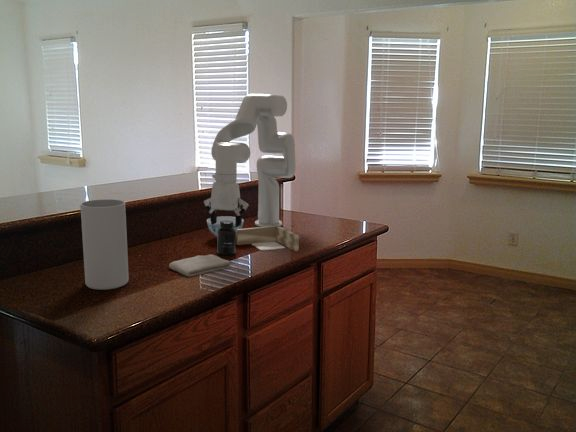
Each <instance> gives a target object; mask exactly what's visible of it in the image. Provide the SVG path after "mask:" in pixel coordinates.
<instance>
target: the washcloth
mask: <svg viewBox="0 0 576 432" xmlns="http://www.w3.org/2000/svg"><path fill="white" fill-rule="evenodd" d="M231 267H232V266H231V262H230V260H227V259H224V258H222V257H220V256H218V255H215V254H211V253H210V254H207V255H195V256H192V257H187V258H182V259H179V260H174V261H171V262H170V263H169V264H168V268H170V269H171V270H172V271H174V272H178V273H179V274H180V275H183V276H185V277H189V278H191V277H194V276H198V275H203V274H206V273H211V272H214V271H219V270H224V269H228V268H231Z"/></svg>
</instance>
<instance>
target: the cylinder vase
mask: <svg viewBox="0 0 576 432" xmlns="http://www.w3.org/2000/svg"><path fill="white" fill-rule="evenodd" d="M126 210H127V209H126V201H125V200H120V199H111V198H110V199H109V198H107V199H106V198H105V199H92V200H86V201H82V202H80V218H81V219H80V220H81V233H82V234H81V235H82V237H81V238H82V251H83V252H82V253H83V269H84V281H85V282H84V283H85V286H86V287H88V288H89V289H92V290H98V291H101V290H102V291H105V290H113V289H114V290H115V289H118V288H121V287H124V286H125V285H127V284H128V282H129V258H128V257H129V256H128V255H129V254H128V237H127V236H128V235H127V216H126V215H127V213H126Z"/></svg>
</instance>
